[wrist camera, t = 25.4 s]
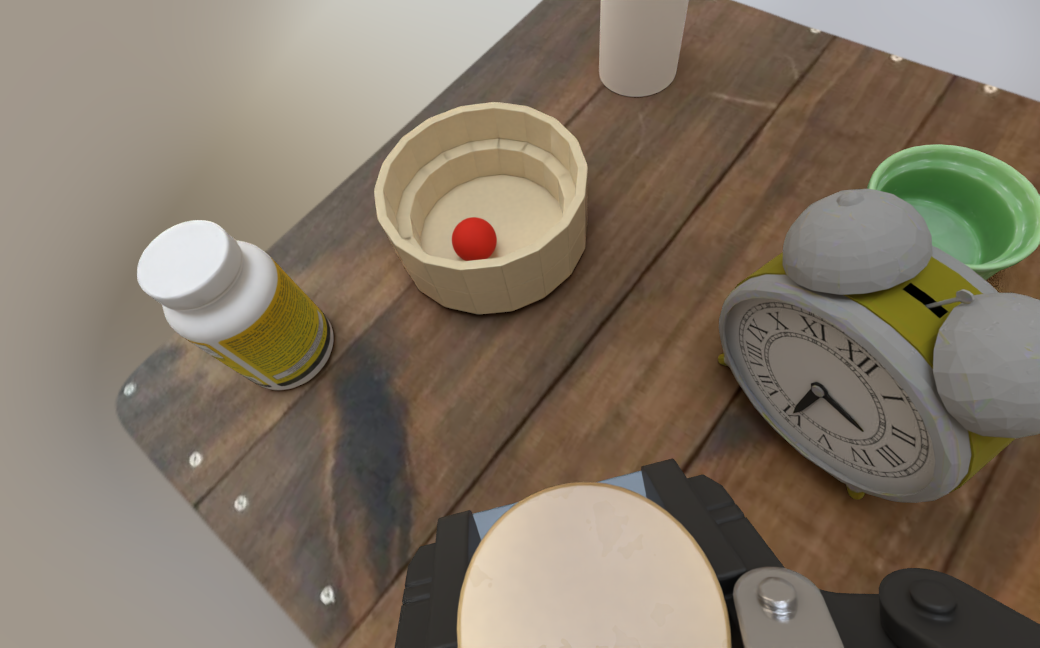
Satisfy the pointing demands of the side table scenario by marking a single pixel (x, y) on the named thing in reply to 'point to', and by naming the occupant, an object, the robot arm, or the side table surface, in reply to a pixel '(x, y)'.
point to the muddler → (590, 577)
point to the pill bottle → (236, 304)
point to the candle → (640, 44)
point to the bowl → (486, 204)
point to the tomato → (474, 239)
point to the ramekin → (966, 203)
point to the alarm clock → (883, 351)
